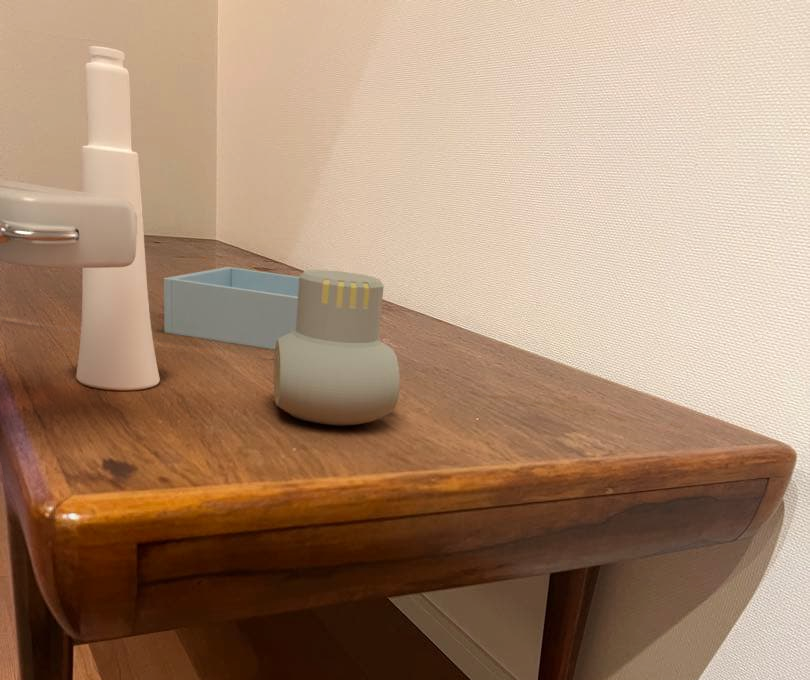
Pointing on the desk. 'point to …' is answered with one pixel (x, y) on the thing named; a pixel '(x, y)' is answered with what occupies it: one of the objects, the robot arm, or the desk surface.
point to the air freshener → (336, 353)
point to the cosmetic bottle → (127, 286)
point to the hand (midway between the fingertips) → (72, 213)
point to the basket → (232, 305)
